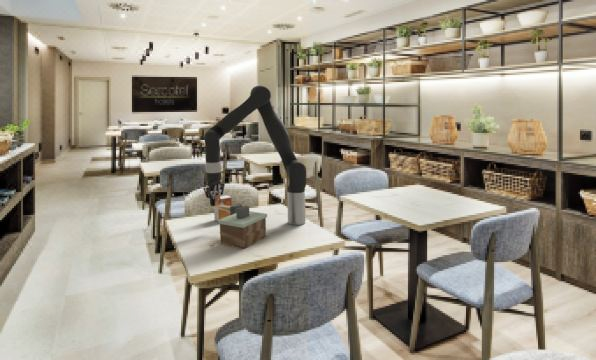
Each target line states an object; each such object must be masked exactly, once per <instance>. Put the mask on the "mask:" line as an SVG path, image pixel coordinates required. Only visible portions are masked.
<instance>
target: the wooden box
mask: <svg viewBox="0 0 596 360" xmlns="http://www.w3.org/2000/svg"><path fill="white" fill-rule="evenodd" d="M242 206H243V204H240V203H236V204H234V205H233V204H232V206H230V215H233V214H235V213H236V208H239V207H242ZM266 218H267V217H266ZM266 218H264V219H261V220H259V221H257V222H255V223H253V224H250V225H248V226H246V227H244V228H241V227H236V226H230V225H224V224H219V236H220V237H219V238H220V245H223V246H226V247H233V248H237V249H243V250H244V249H246V248H249V247H250V246H252V245H254V244H256V243H258V242H259V241H261V240H263V239H266V238H267V224H266V223H267V220H266Z"/></svg>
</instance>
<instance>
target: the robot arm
mask: <svg viewBox="0 0 596 360" xmlns="http://www.w3.org/2000/svg"><path fill="white" fill-rule="evenodd" d="M250 90H251V91H250V93H249V94H250V95H249V96H248V97H247V99H245V101H243V102H242V103H240V105H238V106H237V107H236V108H234V109H233V110H231V111H229V113H228V114H227V113H226V115H225V116H224V117H222V118H221V119H220V120H219V121H218V122H217V123H216V124H215V125H213V126H212V127H211V128H209V129H208V130H207V131H206V132H205V133H204V135H203V139H204V146H205V180H206V182H207V186H206V187H203V188H202V189H203V191H204V194H205V197H206V199H209V204H210V207H211V206H215V200H214V195H215V194H216V195H219V202H220V196H224V191H225V185H226V184H225V182H222V179H223V178H222V175H223V174H222V163H221V153H220V145H221V144H220V139H222V138H223V137H224V136H225V135H226V134H229V133H230V132H231V131H232V130H234V128H236V127H237V126H238V125H239V124H241V123H242V121H244V120H245V119H246V118H248V117H249V115H251V114H252V113H253V112H254V111H256V110H257V111H258V113H259V114H260V116H261V119H262V121H263V125H264V128H265V130H266V131H267V134H268V137H269V138H270V140H271V142H272V145H273V146H274V148H275V150H276V151H277V153H278V155H279V157H280V160H281V162H282V164H283V168H284V171H285V173H286V174H287V175H288V177H289V179H288V180H289V181H288V185H287V195H286V196H287V224H289V225H291V226H300V225H304V224H305V223H306V221H307V220H306V186H307V167H306V165H305V164H304V163H303V162H301V161H299V160H298V157H297V156H296V155H295V153H294V151H293V147H292V143H291V138H290V134H289V132H288V130H287V128H286V126H285V124H284V122H283V121H282V119H281V118H280V117H279V114H278V113H277V112H276V110H275V109H274V106H273V105H272V102H271V97H272V93H271V90H270V88H268V87H267V86H265V85H255V86H254V87H253V88H252V89H250ZM211 195H212V196H211Z"/></svg>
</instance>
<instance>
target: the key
mask: <svg viewBox="0 0 596 360" xmlns="http://www.w3.org/2000/svg"><path fill="white" fill-rule="evenodd" d="M211 196H212V194H211ZM214 200H215V206H211V205H210V209H213V210H214V209H219V210H226V211H230V206H225V205H220V202H219V195H216V194H215V195H214ZM236 209H237V208H236Z"/></svg>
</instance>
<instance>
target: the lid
mask: <svg viewBox="0 0 596 360" xmlns="http://www.w3.org/2000/svg"><path fill="white" fill-rule="evenodd" d="M264 218H268V214H267V213H264V212H263V213H262V212H257V211H250V206H248V205H242V207H239V208H237V209H236V213H235V214H233V215H230V216H228V217H225V218H222V219H220V220H218V222H217V224H219V225H220V224H224V225H230V226H236V227H241V228H244V227H246V226H248V225H250V224H253V223H255V222H257V221H259V220H261V219H264Z"/></svg>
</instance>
